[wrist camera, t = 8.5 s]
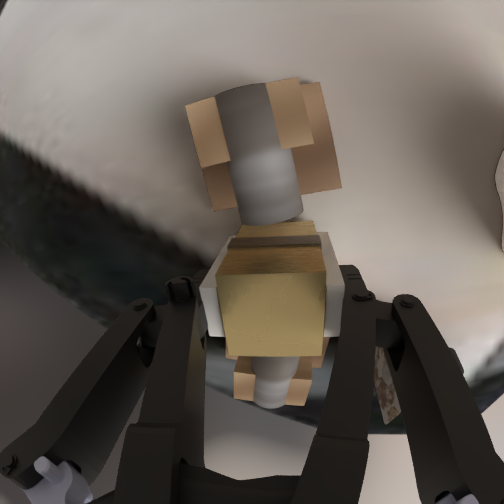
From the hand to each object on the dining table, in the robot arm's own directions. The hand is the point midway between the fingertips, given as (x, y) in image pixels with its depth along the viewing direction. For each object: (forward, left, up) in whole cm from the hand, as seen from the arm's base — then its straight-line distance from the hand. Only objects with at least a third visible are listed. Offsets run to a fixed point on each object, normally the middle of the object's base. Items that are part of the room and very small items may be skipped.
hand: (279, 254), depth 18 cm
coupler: (0, 0, 0) cm, 0 cm away
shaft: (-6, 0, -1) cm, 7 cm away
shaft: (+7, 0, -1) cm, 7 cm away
